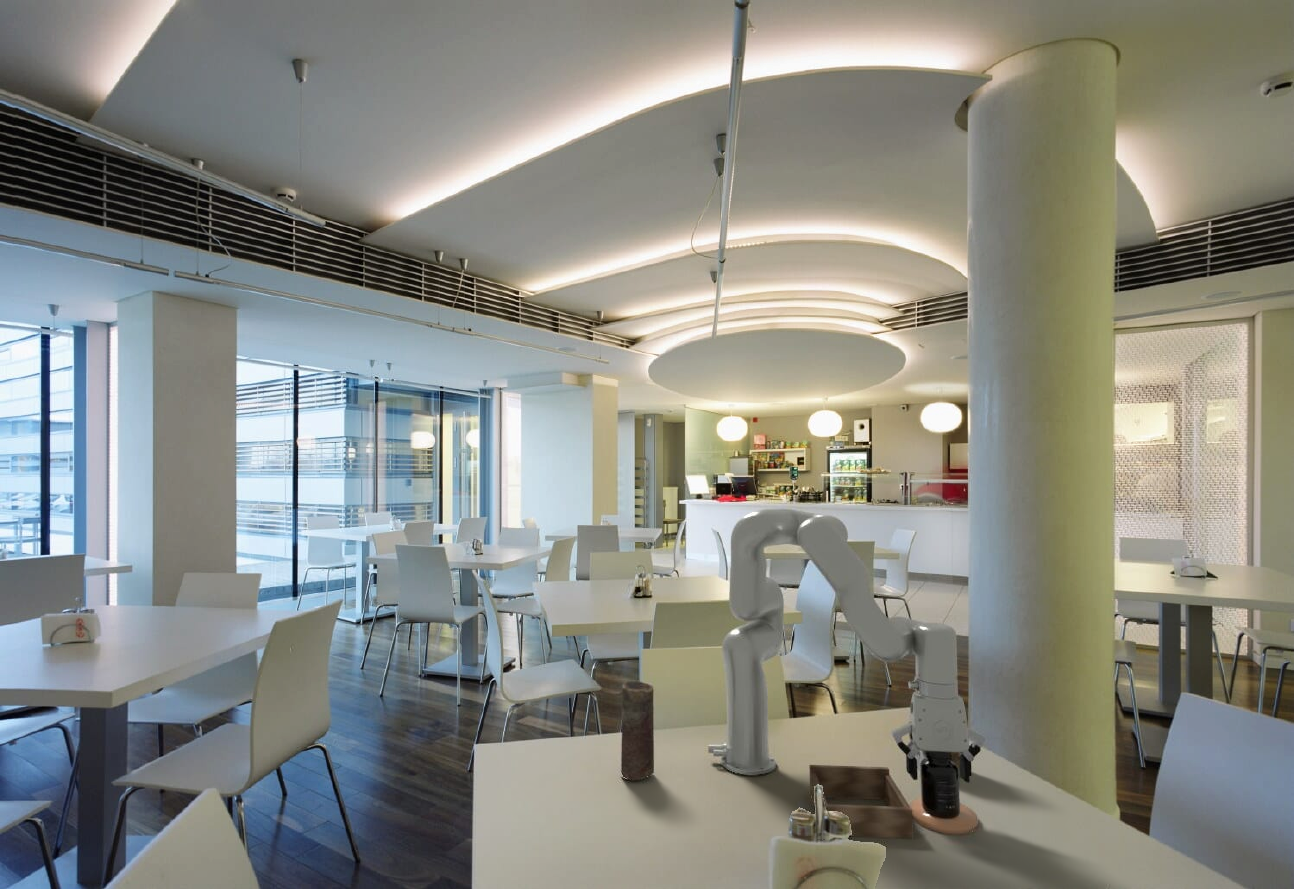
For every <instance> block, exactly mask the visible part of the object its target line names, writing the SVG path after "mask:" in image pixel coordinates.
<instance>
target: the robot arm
mask: <svg viewBox="0 0 1294 889" xmlns="http://www.w3.org/2000/svg"><path fill="white" fill-rule="evenodd" d="M848 539H849V532H848V529H847V528H846V525H845V524H844V522H843V521H842V520H841V519H839V518H837V517H835V516H832V515H827V514H820V513H813V512H809V511H803V510H796V509H791V508H769V509H768V508H767V509H760V510H756V511H752V512H750V513H748V514H746V515H744V516H743V517H741V518H740V519H739V520H738V521H736V523H735V525H734V527H733V528H732V532H731V536H730V571H729V597H728V598H729V599H728V604H729V610H730V612H731V614H732V615H733V617H735V619H737V620H739V621H742V622H747V623H746V624H743V625H740V626H737V627H734V628H733V629H732V630H730V631H729V632H728V633H727V634H726V635H725V637H724V639H723V641H722V644H721V654H722V660H723V665H724V670H725V671H724V672H725V685H726V686H725V687H726V692H725V693H726V728H727V730H726V731H727V732H726V733H727V734H726V735H727V736H726V739H725V742H722V743H721V744H715V743H708V746H707V747H708V754H713V757H721V758H720V763H722V764H721V766H722V765H723V766H724V767H726V768H727V769H728V770H730V771H729V772H731V771H732V772H731V773H733V772H735V773H734V774H737V773H742V774H753V775H752V776H759V775H758V774H763V775H765V774H764V773H767V774H768V773H771V772H773V771H774V770H775V769H776V766H777V761H776V758H775V756H773V755H771V754H770V751H769V750H770V747H769V745H770V743H769V706H768V705H769V703H768V700H769V699H768V683H767V677H766V675H765V671H764V668H763V667H764V666H763V664H764V663H766V662H768V661H770V660H771V659H773V658H775V657H776V656H778V654H779V653H780V651H781V649H782V645H783V638H784V635H783V633H784V608H785V607H784V606H785V604H784V601H785V600H784V594H783V592H782V589H781V586H780V585H779V584H778V582H777V581H776V580H774V579H773V578H771V577H768V576H767V570H768V569H767V567H768V566H767V564H768V563H767V558H766V553H765V548H767V547H771V546H780V545H792V546H797V547H798V546H799V547H801V550H803V552H804V553H805V554H806V556H808V558H809V559H810V561H811V562H812V563H813V565H814V566H815V567H816V568H817V570H818V571H819V572H820V574H821V575H822V576H823V578H824V579H825V580H826V582H827V584H829V586H830V587H831V589H832V590H833V592H834V593H835V596H836V599H837V602H838V605H839V607H840V610H841V612H842V614H843V616H844V618H845V621H846V622H847V624H848V626H849V627H850V629H851V630H852V632H853V633H854V635H856V637H857V638H858V640H859V641H860V642H861V643H862V645H863V646H864V647H865V649H866V650H867V651H868V652H869V653H870V655H872V656H873V657H875V658H876V659H877V660H879V661H882V662H884V663H895V662H898V661H900V660H901V659H903V658H904V657H905V656H908V655H911V654H913V655H914V656H915V676H914V680H912V681H908V688H909V689H913V690H915V691H913V692H912V695H911V696H912V697H911V702H910V709H909V720H908V723H906V724H904V725H902V726H900V727H898V728H895V729H893V730H892V731H891V736H892V737H893V739H894V741H895V743H896V745H897V747H898V748H899V749H900V750H901V751H902V753H904V754H905V757H906V758H905V760H906V761H905V764H906V765H905V768H906V772H907V774H909V776H910V777H911V779H912V780H913V781H917V780H918V779H919V778H918V777H919V776H918V767H917V759H916V758H915V755H916V754H917V753H918V752H919V751H920V750H921V751H928V752H949V753H962V754H961V755H960V756H959V769H960V776H961V777H960V778H961V779H962V780H963V781H964V783H970V782H971V781H970V777H972V774H973V773H972V762H973V761H974V759H975V757H976V756H977V755H978V754H979V753H981V749H982V747H983V745H984V743H985V741H986V738H985V736H984V735H983V734H981V733H979V732H978V731H976V730H974V729H972V728H970V727H969V726H968V720H967V719H968V718H967V712H966V707H965V703H964V700H963V699H964V698H963V697H961V696H960V695H959V690H958V689H959V688H958V685H959V684H958V683H959V682H958V650H957V649H958V647H957V633H956V632H957V631H956V630H955V629H954V628H953V627H952V626H950V625H948V624H945V623H938V622H924V621H923V622H922V621H919V620H915V619H912V618H908V617H904V616H892V617H889V618H888V616H886V614H885V612H884V611H883V610H882V609H881V608H880V606H879V605H878V603H877V602H876V600H875V598H874V596H873V594H872V591H871V588H870V575H869V570H868V567H867V566H866V565H865V563H863V561H862V560H861V559H860V558H859V556H858V555H857V554H856V553H855V551H854V550H853V549H852V547H851V546H850V545H849V543H847V542H848ZM906 735H908V737H909V742H908V743H907V744H905V742H904V741H903V739H902V738H903V737H904V736H906ZM970 738H972V739H973V742H971V744H970ZM723 766H722V767H723ZM724 767H723V768H724ZM727 769H726V770H727ZM728 770H727V771H728ZM754 774H756V775H754Z"/></svg>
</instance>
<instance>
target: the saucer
mask: <svg viewBox="0 0 1294 889" xmlns="http://www.w3.org/2000/svg"><path fill="white" fill-rule="evenodd" d="M909 806H910V807H911V809H912V820H913V821H914V822H915V823H917V825H919V826H921V827H923V828H925V829H928V830H931V831H933V832H936V833H940V832H941V834H945V835H946V834H947V835H956V834H959V835H967V833H968V834H971V833H973V832H974V830H975V831H976V830H977V829H978V826H979V823H978V822H979V821H978V819H979V818H978V815H977V814H976V812H975V811H974V810H973V809H972V808H970V807H969V806H967V805H965V804H963V803H961V802H960V814H959V815H958V816H957V817H955V818H950V819H945V818H938V817H935V816H932V815H930V814H928V813H927V812H926V811H925V810H924V809H923V807H922V798H921V797H918V798H916V799H914V800H912V801H911V802H910V803H909ZM972 831H973V832H972ZM970 832H971V833H970Z"/></svg>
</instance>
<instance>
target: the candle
mask: <svg viewBox="0 0 1294 889" xmlns="http://www.w3.org/2000/svg"><path fill="white" fill-rule="evenodd" d="M621 687H622V690H621V691H622V692H621V695H622V696H621V750H620V751H621V754H620V755H621V758H620V762H621V763H620V766H621V768H620V774H621V773H622V775H623V777H625V778H627V780H631V779H634V780H633V781H635V780H637V781H641V780H644V779H647V778H648V777H647V776H649V777H650V775H651V776H652V775H653V774H654V772H655V749H654V748H655V746H654V743H655V741H654V735H655V734H654V733H655V732H654V730H655V728H654V724H655V723H654V709H655V708H654V687H653V685H651V684H649V683H647V682H643V681H638V680H634V681H633V680H629V681H625V682H624V683H622V686H621ZM623 777H622V778H623ZM646 777H647V778H646Z"/></svg>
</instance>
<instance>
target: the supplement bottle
mask: <svg viewBox="0 0 1294 889" xmlns="http://www.w3.org/2000/svg"><path fill="white" fill-rule="evenodd" d="M951 760H952V753H949V752H928V751H925V758H924V759H922V761H921V763H920V770H919V771H920V773H919V775H920V776H919V777H920V793H921V794H920V795H921V796H920V798H922V807H923V809H924V810H925V811H926V812H927V813H928V814H930V815H932V816H935V817H938V818H945V819H950V818H955V817H957V816H958V815H959V814H960V803H961V802H960V785H959V784H960V783H959V782H960V780H959V778H960V777H958V768H957V766H956V765H955V763H954V762H952V761H951Z"/></svg>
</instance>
